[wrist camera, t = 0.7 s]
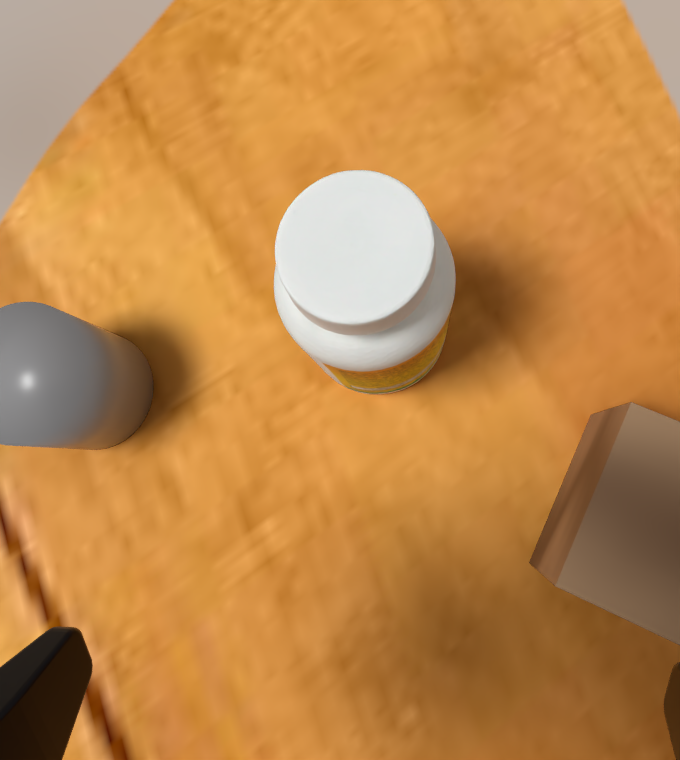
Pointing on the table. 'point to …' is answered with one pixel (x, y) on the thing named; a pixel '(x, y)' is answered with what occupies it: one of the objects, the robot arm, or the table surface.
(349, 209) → the supplement bottle
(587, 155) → the table surface
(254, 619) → the table surface
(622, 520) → the walnut block
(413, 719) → the table surface
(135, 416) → the gray capsule
